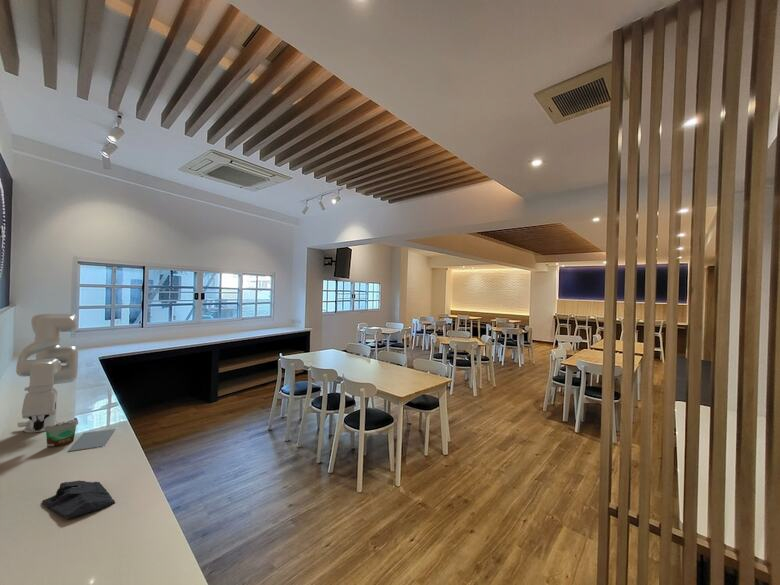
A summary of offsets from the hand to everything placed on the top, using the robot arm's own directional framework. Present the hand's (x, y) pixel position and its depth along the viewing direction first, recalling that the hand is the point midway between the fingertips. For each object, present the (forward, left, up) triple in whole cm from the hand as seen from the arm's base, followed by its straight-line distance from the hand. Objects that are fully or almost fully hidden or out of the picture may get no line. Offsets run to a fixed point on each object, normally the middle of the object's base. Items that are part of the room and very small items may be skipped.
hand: (38, 429), depth 147 cm
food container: (+9, 0, -8) cm, 12 cm away
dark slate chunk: (+29, -59, -9) cm, 66 cm away
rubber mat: (+19, 0, -8) cm, 21 cm away
